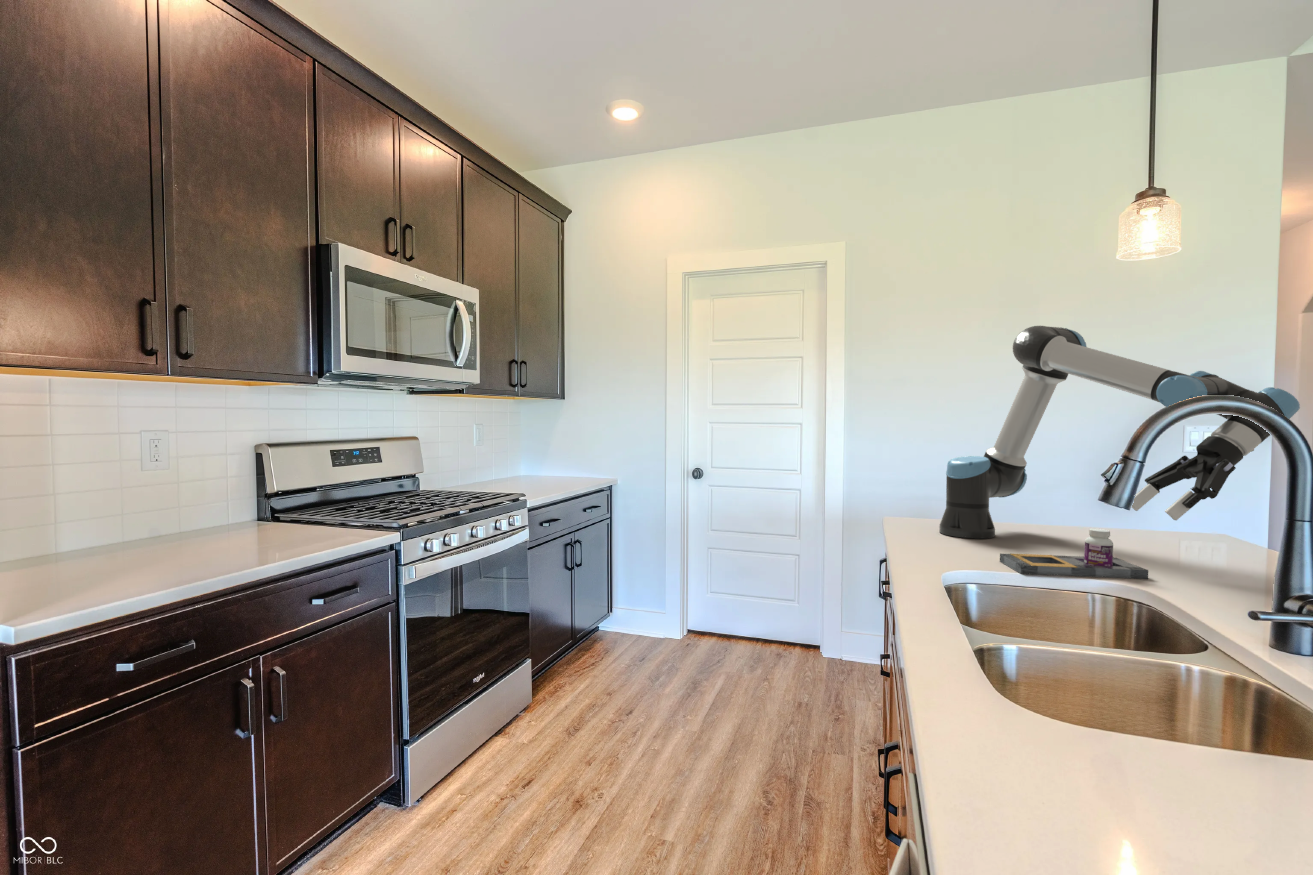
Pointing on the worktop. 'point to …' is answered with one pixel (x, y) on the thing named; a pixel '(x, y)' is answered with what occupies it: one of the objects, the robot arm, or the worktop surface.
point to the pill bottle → (1098, 548)
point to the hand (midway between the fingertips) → (1149, 511)
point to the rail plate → (1070, 566)
